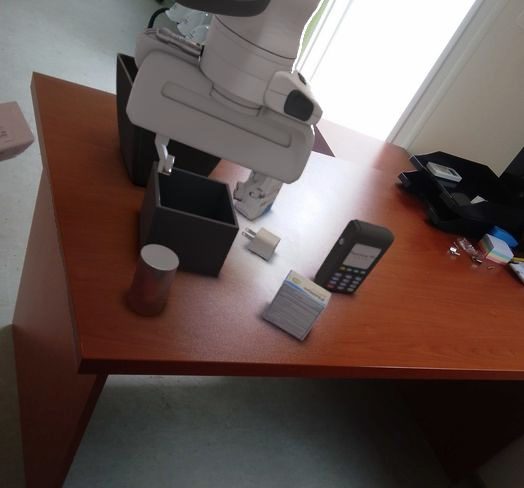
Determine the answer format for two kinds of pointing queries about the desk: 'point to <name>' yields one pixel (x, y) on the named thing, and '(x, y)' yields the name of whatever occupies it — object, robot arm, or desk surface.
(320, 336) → the desk surface
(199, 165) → the flower pot
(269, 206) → the ink box
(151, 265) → the drink can
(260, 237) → the usb wall charger
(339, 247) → the card reader
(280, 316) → the medicine box
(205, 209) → the trash bin
